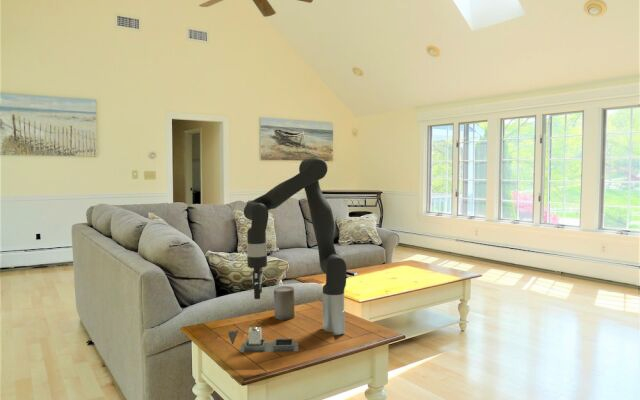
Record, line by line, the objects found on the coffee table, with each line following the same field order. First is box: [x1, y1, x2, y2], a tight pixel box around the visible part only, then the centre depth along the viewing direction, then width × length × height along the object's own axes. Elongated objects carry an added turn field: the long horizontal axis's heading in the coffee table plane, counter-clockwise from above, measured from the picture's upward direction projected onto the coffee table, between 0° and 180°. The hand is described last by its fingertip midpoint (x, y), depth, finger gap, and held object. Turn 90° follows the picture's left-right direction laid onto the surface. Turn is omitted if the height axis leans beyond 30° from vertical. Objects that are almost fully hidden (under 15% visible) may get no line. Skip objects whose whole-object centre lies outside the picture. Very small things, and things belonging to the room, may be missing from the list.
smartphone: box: [228, 330, 239, 344], centre depth 195 cm, size 7×1×15 cm
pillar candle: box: [273, 285, 295, 321], centre depth 221 cm, size 10×10×15 cm
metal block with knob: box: [248, 326, 263, 346], centre depth 179 cm, size 4×4×8 cm
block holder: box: [239, 338, 299, 353], centre depth 179 cm, size 22×9×3 cm, turn 92°
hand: (258, 295), depth 180 cm, fingers open, 8 cm apart
